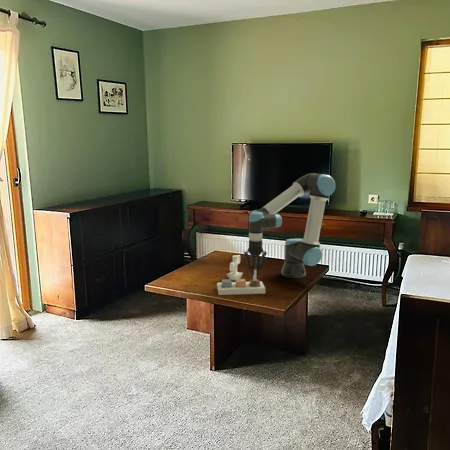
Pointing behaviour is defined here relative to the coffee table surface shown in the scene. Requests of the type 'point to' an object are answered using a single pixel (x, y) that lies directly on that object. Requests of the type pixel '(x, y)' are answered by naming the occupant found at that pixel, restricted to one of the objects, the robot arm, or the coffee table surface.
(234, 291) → the key block
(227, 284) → the slate key
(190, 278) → the coffee table surface
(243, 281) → the terracotta key
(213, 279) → the coffee table surface
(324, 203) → the robot arm
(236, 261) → the figurine
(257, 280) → the walnut key
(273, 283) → the coffee table surface
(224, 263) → the coffee table surface
